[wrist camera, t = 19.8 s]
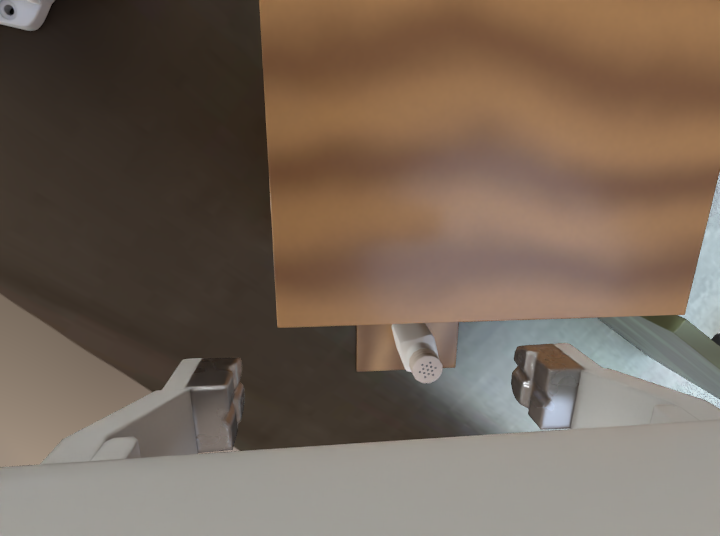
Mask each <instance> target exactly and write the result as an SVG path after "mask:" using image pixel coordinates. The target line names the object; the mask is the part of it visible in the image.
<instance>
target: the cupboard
mask: <svg viewBox="0 0 720 536" xmlns="http://www.w3.org/2000/svg"><path fill="white" fill-rule="evenodd" d="M259 5H260V23H261V40H262V58H263V76H264V94H265V112H266V129H267V147H268V165H269V183H270V201H271V219H272V236H273V254H274V272H275V290H276V308H277V325H278V328H285V327H316V326H347V325H379V324H410V323H441V322H473V321H504V320H535V319H566V318H598V317H629V316H660V315H685V311H686V307H687V303H688V299H689V295H690V291H691V287H692V283H693V278H694V274H695V270H696V266H697V262H698V258H699V254H700V250H701V246H702V242H703V237H704V233H705V229H706V225H707V221H708V217H709V213H710V209H711V205H712V201H713V196H714V192H715V188H716V184H717V180H718V176H719V172H720V0H259Z"/></svg>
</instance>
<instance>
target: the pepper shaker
mask: <svg viewBox="0 0 720 536" xmlns="http://www.w3.org/2000/svg"><path fill="white" fill-rule="evenodd" d="M391 328H392V332H393V336H394V340H395V344H396V347H397V350H398V352H399V355H400V358H401V360H402V363H403V365H404V368H405V369H406V370H407V371H409V372H412V374H413V375H414V377H415V379H416V380H418V381H420V382H422V383H431V382H433V381H435V380H437V379H438V378H439V376H440V375H441V373H442V367H443V365H442V363H441V362H440V360H439V356H438V351H437V347H436V342H435V339H434V336H433V335H432V333H431V332H430V330H429V328H428V327H427V325H426V324H425V323H410V324H392V327H391Z"/></svg>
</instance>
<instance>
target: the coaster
mask: <svg viewBox="0 0 720 536" xmlns="http://www.w3.org/2000/svg"><path fill="white" fill-rule="evenodd" d="M425 324H426V325H427V327H428V328H429V330H430V332H431V333H432V335H433V336H434V339H435V342H436V347H437V351H438V356H439V360H440V362H441V363H442V365H443V367H442V368H455V364H456V351H457V338H458V325H459V322H441V323H425ZM391 327H392V324H379V325H357V372H361V371H384V370H406V369H405V368H404V365H403V363H402V360H401V358H400V355H399V352H398V350H397V347H396V344H395V340H394V336H393V332H392V328H391Z"/></svg>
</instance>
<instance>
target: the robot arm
mask: <svg viewBox="0 0 720 536" xmlns="http://www.w3.org/2000/svg"><path fill="white" fill-rule="evenodd" d="M54 1H55V0H0V24H2V25H6V26H10V27H15V28H19V29H24V30H28V31H34V30H37V29H38V28H40V27H41V25H42V24H43V22H44V21H45V19H46V17H47V14H48V12H49V10H50V7H51V5H52V3H53V2H54ZM12 8H13V9H14V14H13V15H11V14H10V10H11V9H12ZM514 361H515V362H516V364H517V365H518V366H517V368H516V369H515V370H514V371H513V372H512V379H511V385H512V390H513V394H514V396H515V398H516V400H517V401H518V402H519V403H520V404H521V405H523V406H525V407H527V408H528V409H529V412H528V414H529V416H530V417H531V418H532V419H533V420H534V422H535V423H536V424H537V425H538V426H539V428H540V429H567V428H570V429H567V430H552V431H537V432H522V433H507V434H492V435H477V436H462V437H447V438H431V439H416V440H401V441H386V442H371V443H355V444H340V445H325V446H310V447H295V448H279V449H264V450H249V451H234V452H220V453H205V454H198V453H202V452H213V451H223V450H233V446H234V443H235V440H236V436H237V433H238V427H237V423H239V422H240V421H241V419H242V415H243V410H244V386H243V385H242V384H241V383H240V378H241V375H242V372H243V371H242V362H241V359H240V357H237V358H204V359H203V358H194V359H183V360H182V361H181V363H180V364H179V366H178V367H177V369H176V370H175V371H174V373H173V374H172V376H171V377H170V379H169V380H168V382H167V383H166V385H165V386H164V388H163V389H162V390H160V391H154V392H152V393H151V394H149V395H147V396H145V397H143V398H141V399H139V400H137V401H135V402H133V403H131V404H129V405H127V406H126V407H124V408H122V409H120V410H118V411H116V412H114V413H112V414H110V415H108V416H106V417H104V418H102V419H101V420H99V421H97V422H95V423H93V424H91V425H89V426H87V427H85V428H83V429H81V430H79V431H78V432H76V433H74V434H72V435H70V436H68V437H66V438H64V439H62V440H61V442H60V443H59V444H58V445H57V446H56V447H55V448H54V449H53V451H52V452H51V453H50V454H49V455H48V456H47V457H46V458H45V459H44V460H43V461H42V462H41V464H39V465H26V466H9V467H0V536H720V409H719V408H717V407H716V406H714V405H713V404H711V403H709V402H708V401H706V400H703V399H700V398H697V397H694V396H691V395H687V394H684V393H681V392H678V391H675V390H672V389H669V388H666V387H663V386H660V385H657V384H654V383H651V382H648V381H645V380H642V379H639V378H636V377H633V376H630V375H627V374H624V373H621V372H618V371H615V370H612V369H609V368H607V369H603V368H602V367H601V366H599V365H598V364H597V363H595V362H594V361H593V360H591V359H590V358H588V357H587V356H586V355H584V354H583V353H582V352H580V351H579V350H577V349H576V348H575V347H573V346H572V345H571V344H568V343H558V344H540V345H525V346H519V347H517V349H516V351H515V355H514Z"/></svg>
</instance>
